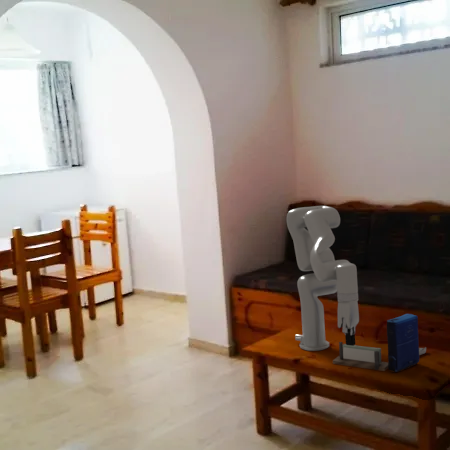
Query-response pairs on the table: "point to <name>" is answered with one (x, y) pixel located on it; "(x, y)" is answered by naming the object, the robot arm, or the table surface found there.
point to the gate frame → (361, 364)
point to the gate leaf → (360, 353)
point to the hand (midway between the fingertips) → (350, 344)
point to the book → (402, 342)
